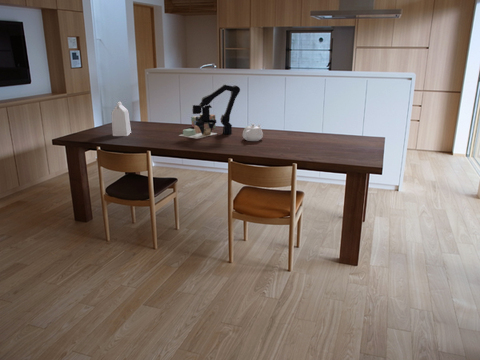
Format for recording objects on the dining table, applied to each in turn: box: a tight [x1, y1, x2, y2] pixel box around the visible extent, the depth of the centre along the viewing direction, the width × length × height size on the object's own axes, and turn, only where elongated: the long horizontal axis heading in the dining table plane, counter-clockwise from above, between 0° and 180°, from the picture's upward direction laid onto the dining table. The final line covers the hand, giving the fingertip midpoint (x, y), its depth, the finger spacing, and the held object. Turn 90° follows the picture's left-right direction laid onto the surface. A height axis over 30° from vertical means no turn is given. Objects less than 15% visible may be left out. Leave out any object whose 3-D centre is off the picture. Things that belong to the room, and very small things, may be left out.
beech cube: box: [202, 128, 212, 137], centre depth 328 cm, size 5×5×5 cm
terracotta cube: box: [193, 126, 201, 133], centre depth 338 cm, size 5×5×5 cm
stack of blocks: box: [190, 113, 216, 130], centre depth 356 cm, size 21×6×12 cm, turn 58°
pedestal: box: [182, 128, 196, 136], centre depth 329 cm, size 7×7×4 cm
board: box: [178, 132, 218, 140], centre depth 330 cm, size 20×24×1 cm
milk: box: [111, 101, 132, 137], centre depth 330 cm, size 12×12×26 cm
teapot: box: [242, 123, 264, 142], centre depth 313 cm, size 25×16×12 cm, turn 153°
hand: (206, 133), depth 328 cm, fingers open, 9 cm apart
